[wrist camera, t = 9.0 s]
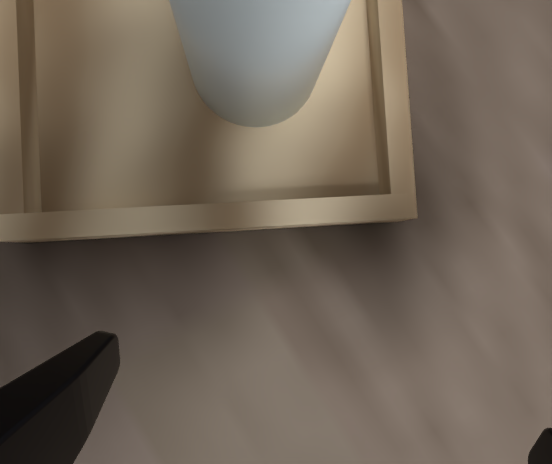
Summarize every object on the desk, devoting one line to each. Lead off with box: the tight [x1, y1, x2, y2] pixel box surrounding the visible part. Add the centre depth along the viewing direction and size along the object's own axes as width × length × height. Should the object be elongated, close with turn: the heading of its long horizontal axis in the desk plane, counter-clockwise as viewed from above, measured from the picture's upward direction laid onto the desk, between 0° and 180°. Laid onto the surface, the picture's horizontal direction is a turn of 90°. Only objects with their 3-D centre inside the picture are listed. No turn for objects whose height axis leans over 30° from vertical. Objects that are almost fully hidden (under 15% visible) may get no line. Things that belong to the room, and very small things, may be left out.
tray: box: [0, 0, 418, 243], centre depth 19 cm, size 16×14×2 cm
